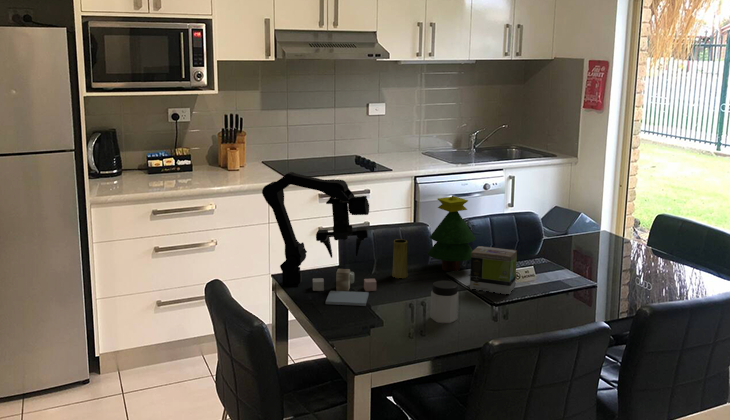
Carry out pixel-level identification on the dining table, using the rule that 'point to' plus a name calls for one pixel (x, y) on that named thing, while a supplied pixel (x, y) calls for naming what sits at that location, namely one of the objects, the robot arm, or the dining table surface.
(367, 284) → the pink block
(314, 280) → the off-white block
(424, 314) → the dining table surface
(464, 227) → the decorative tree
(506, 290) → the tea box
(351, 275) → the sage cylinder
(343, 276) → the birch block
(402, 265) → the vase
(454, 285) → the jar
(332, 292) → the blue board
